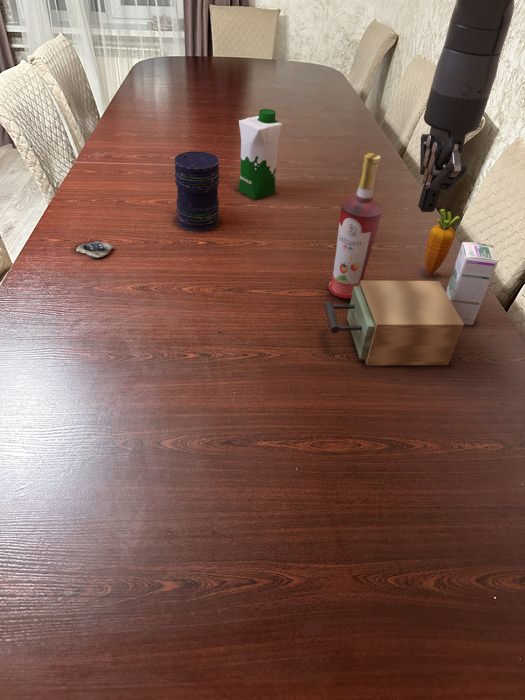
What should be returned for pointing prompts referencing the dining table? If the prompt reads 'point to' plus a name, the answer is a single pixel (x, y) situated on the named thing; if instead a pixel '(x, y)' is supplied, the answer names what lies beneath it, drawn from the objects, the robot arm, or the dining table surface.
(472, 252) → the syrup box
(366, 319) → the drawer
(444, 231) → the carrot
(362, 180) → the liquor
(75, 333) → the dining table surface
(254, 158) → the milk carton
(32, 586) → the dining table surface
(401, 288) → the cabinet
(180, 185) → the storage jar
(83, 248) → the oyster shell
